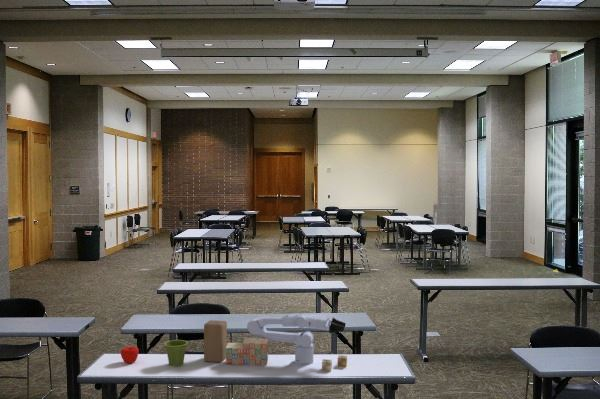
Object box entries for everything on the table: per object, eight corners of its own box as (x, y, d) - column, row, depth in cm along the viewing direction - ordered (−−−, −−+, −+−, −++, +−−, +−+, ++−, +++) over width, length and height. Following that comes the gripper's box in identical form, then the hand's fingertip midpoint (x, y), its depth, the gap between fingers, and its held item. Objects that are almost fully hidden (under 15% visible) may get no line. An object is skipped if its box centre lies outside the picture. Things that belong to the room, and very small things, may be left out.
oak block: (337, 366, 291) (337, 357, 291) (338, 364, 296) (338, 355, 296) (346, 367, 290) (346, 358, 290) (347, 364, 295) (347, 355, 295)
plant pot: (163, 362, 300) (163, 340, 299) (186, 360, 303) (186, 339, 303) (165, 369, 288) (165, 346, 288) (189, 366, 292) (189, 344, 292)
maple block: (321, 371, 284) (321, 362, 284) (323, 368, 289) (323, 359, 289) (330, 371, 284) (330, 362, 284) (331, 368, 288) (331, 359, 288)
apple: (121, 366, 293) (121, 350, 293) (119, 361, 301) (119, 346, 301) (139, 363, 297) (139, 348, 297) (137, 359, 305) (137, 344, 305)
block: (203, 362, 300) (203, 324, 300) (209, 356, 310) (209, 319, 310) (221, 363, 299) (221, 324, 298) (227, 357, 309) (227, 320, 308)
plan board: (319, 372, 283) (319, 371, 283) (322, 363, 299) (322, 362, 299) (347, 374, 281) (347, 373, 281) (349, 364, 296) (349, 363, 296)
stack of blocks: (225, 364, 296) (225, 342, 294) (227, 358, 303) (227, 337, 300) (267, 365, 296) (266, 343, 293) (268, 359, 302) (268, 338, 299)
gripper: (317, 319, 290) (344, 322, 288) (321, 312, 305) (346, 316, 302) (316, 332, 291) (342, 336, 288) (320, 326, 305) (345, 329, 303)
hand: (344, 326), depth 295 cm, fingers open, 7 cm apart
